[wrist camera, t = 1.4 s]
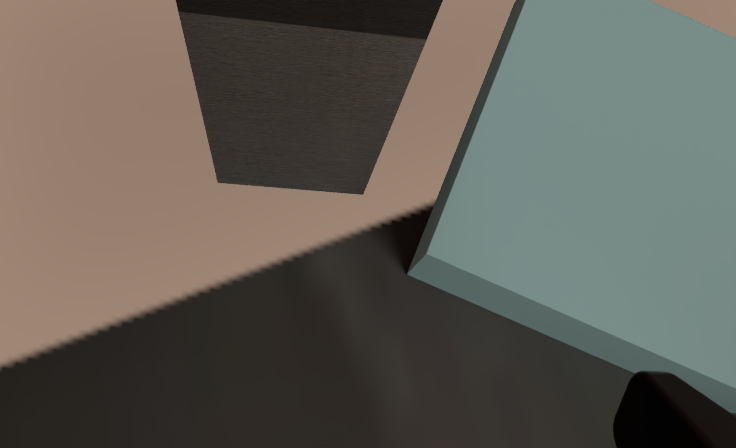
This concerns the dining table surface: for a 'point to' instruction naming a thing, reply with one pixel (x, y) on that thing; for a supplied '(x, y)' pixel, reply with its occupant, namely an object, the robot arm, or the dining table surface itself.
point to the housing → (302, 85)
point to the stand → (601, 189)
